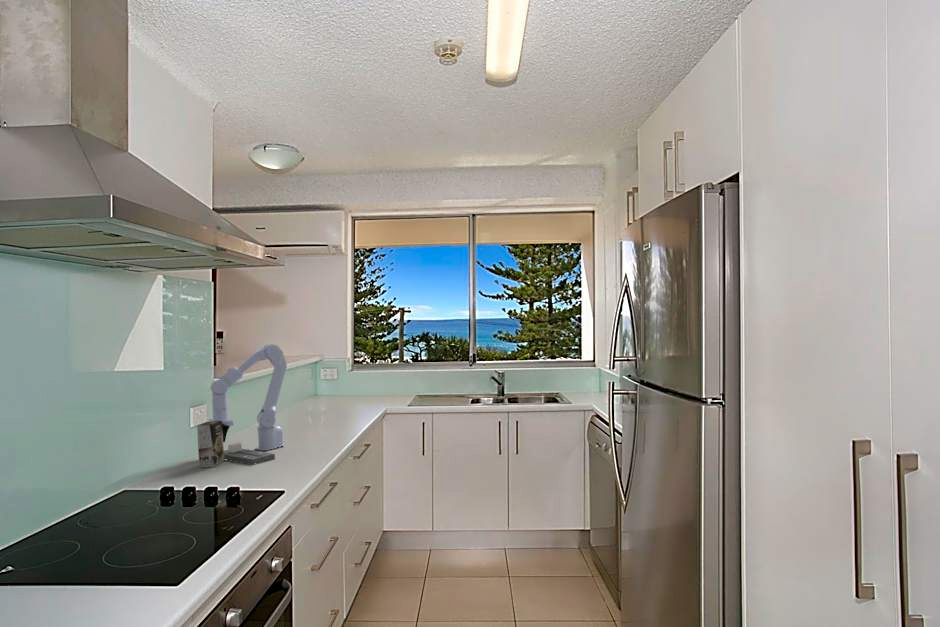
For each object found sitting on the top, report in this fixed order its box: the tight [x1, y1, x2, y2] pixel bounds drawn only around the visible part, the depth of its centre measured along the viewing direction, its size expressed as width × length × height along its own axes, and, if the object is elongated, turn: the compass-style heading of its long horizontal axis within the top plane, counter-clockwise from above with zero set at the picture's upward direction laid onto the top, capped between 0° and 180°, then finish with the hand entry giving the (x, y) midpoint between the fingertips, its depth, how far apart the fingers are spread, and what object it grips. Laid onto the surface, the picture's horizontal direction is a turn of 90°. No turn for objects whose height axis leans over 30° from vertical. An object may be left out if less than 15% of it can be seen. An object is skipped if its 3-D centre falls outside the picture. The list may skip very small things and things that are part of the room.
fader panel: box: [224, 448, 276, 465], centre depth 257 cm, size 10×26×2 cm, turn 53°
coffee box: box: [196, 421, 225, 468], centre depth 250 cm, size 9×6×16 cm
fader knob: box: [227, 442, 243, 453], centre depth 261 cm, size 4×3×3 cm
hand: (221, 442), depth 266 cm, fingers closed
